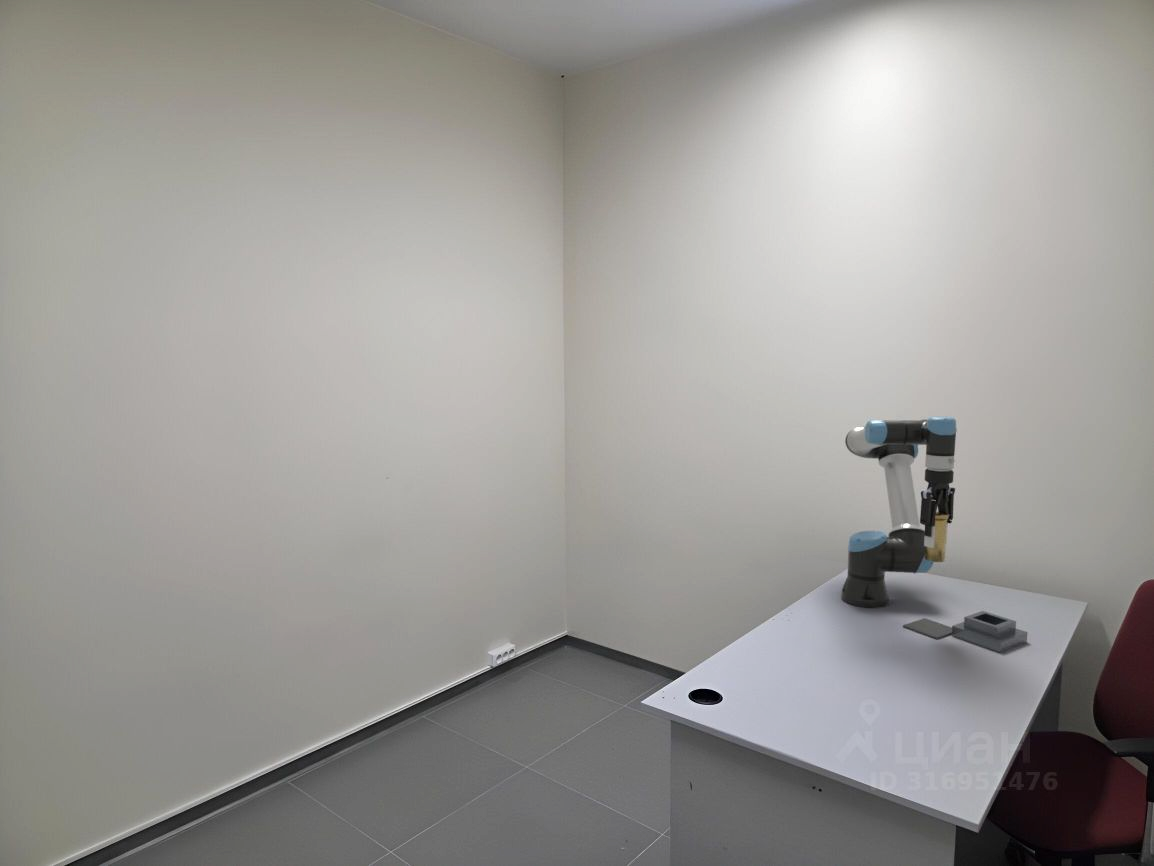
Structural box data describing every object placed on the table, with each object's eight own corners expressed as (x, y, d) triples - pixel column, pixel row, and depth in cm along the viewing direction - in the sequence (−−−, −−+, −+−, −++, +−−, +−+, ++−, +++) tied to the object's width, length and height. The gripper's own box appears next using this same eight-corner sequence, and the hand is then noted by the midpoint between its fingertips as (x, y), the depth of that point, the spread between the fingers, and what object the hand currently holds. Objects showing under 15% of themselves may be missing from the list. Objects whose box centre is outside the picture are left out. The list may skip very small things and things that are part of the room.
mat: (902, 627, 212) (903, 625, 212) (924, 619, 218) (924, 618, 218) (936, 639, 203) (937, 637, 203) (958, 631, 208) (958, 629, 208)
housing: (951, 635, 206) (952, 616, 205) (978, 625, 213) (979, 607, 212) (1000, 652, 194) (1001, 632, 193) (1026, 642, 201) (1028, 622, 200)
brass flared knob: (919, 558, 209) (921, 513, 207) (931, 555, 212) (933, 510, 210) (938, 563, 204) (940, 517, 202) (950, 560, 207) (952, 514, 205)
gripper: (932, 473, 197) (928, 553, 199) (969, 467, 206) (965, 543, 209) (908, 470, 203) (904, 546, 206) (945, 464, 212) (941, 538, 215)
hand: (935, 545), depth 207 cm, fingers closed on brass flared knob, 5 cm apart
